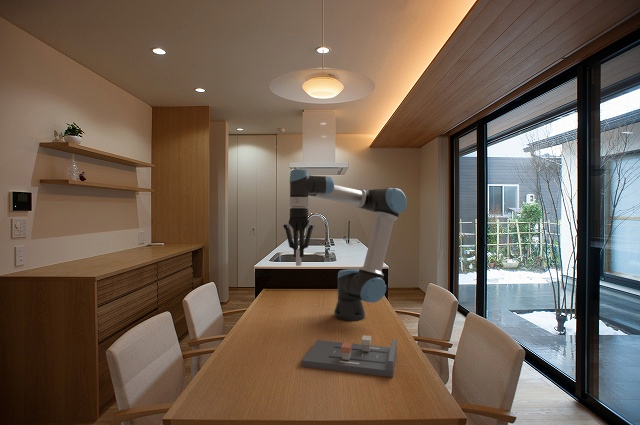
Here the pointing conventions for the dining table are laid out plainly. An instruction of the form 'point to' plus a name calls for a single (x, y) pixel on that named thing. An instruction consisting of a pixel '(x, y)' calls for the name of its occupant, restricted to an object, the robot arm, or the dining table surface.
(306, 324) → the dining table surface
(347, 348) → the fader
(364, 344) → the fader
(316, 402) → the dining table surface
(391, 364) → the console
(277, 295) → the dining table surface
